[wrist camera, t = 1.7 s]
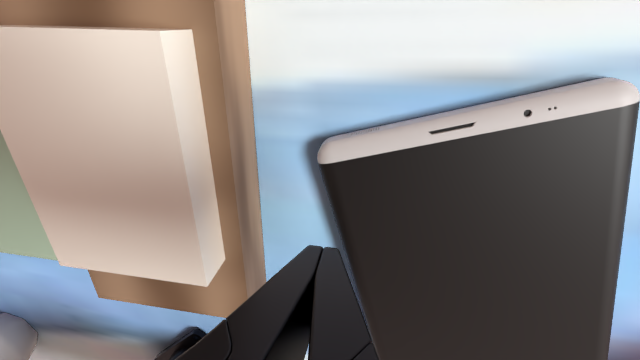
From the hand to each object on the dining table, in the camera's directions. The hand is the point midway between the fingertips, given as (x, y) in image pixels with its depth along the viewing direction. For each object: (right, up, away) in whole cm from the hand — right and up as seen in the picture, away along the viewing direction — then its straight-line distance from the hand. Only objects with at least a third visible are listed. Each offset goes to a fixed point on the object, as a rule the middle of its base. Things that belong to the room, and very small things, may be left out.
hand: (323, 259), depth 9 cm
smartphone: (+10, -6, +12) cm, 16 cm away
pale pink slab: (-9, +3, +6) cm, 11 cm away
